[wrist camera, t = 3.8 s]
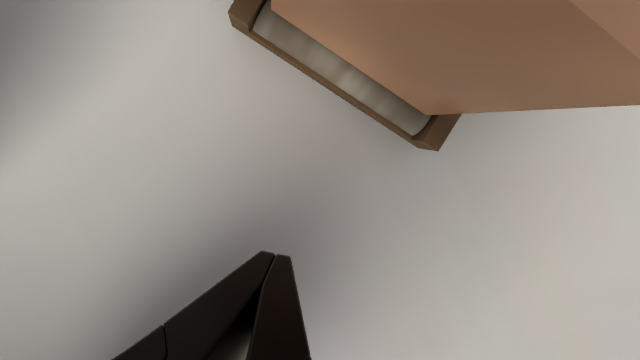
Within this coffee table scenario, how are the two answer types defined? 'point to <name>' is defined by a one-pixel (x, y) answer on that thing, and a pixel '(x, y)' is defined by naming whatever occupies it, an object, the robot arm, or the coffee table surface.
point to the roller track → (339, 75)
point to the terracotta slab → (484, 50)
